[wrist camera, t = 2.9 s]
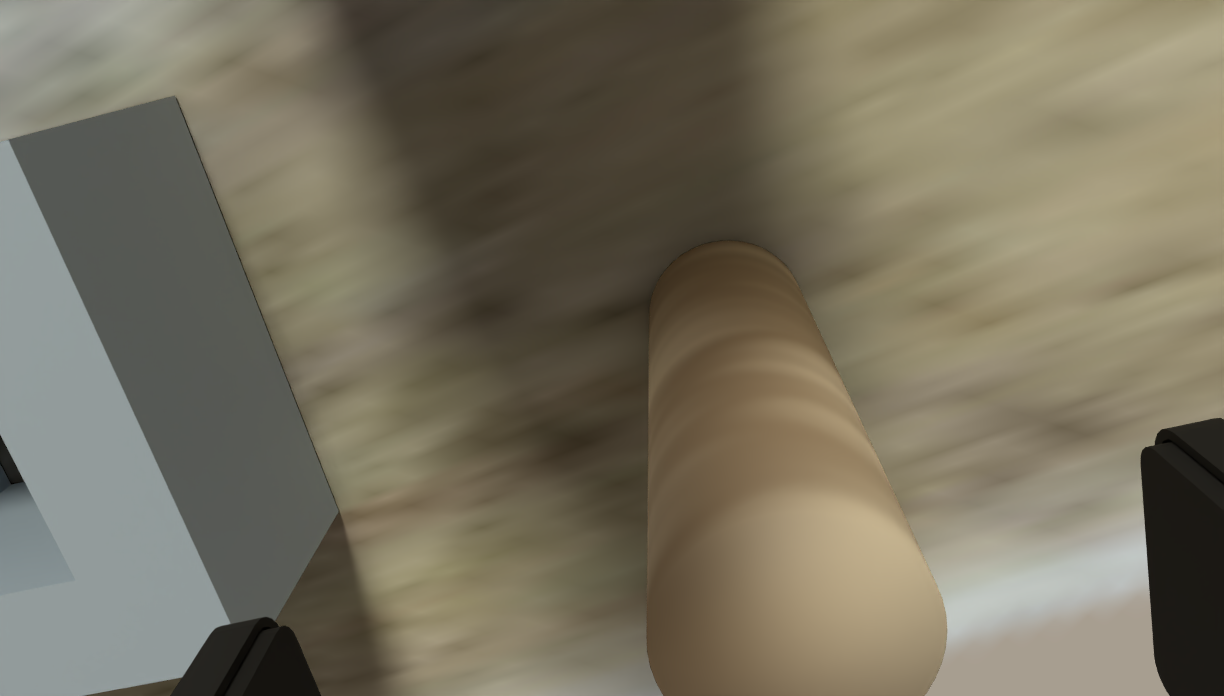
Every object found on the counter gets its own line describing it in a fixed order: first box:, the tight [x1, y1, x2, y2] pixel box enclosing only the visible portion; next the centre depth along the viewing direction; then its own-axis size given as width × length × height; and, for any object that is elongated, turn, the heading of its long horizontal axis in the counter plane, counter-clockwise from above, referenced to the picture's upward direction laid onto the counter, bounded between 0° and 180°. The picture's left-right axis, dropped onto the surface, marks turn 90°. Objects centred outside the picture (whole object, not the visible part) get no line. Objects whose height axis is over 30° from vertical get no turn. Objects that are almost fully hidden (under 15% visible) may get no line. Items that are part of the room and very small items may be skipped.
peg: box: [647, 241, 947, 696], centre depth 15 cm, size 3×3×10 cm
